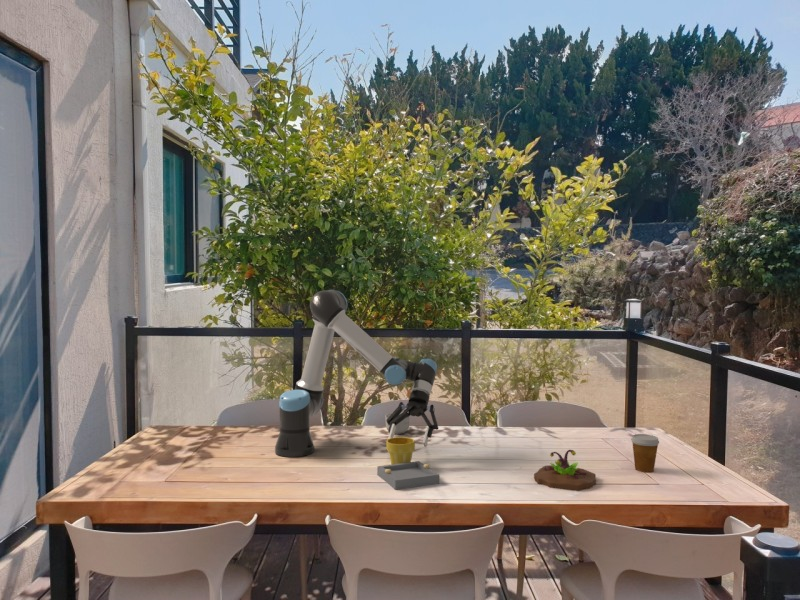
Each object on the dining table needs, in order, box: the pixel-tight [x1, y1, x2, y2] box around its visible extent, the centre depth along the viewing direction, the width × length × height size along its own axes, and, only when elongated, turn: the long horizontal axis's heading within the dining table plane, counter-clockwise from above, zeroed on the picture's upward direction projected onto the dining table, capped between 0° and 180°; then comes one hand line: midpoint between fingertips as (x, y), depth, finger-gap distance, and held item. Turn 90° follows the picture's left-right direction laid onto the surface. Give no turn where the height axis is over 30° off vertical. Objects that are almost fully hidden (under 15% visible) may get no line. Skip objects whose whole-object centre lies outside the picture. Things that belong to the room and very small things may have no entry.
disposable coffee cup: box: [630, 433, 660, 473], centre depth 221 cm, size 10×10×12 cm
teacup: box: [384, 411, 410, 435], centre depth 273 cm, size 14×11×8 cm
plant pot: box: [385, 436, 416, 465], centre depth 222 cm, size 10×10×10 cm
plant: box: [533, 449, 597, 492], centre depth 209 cm, size 20×20×11 cm
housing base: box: [376, 460, 440, 490], centre depth 209 cm, size 16×16×4 cm
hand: (406, 442), depth 224 cm, fingers open, 13 cm apart
